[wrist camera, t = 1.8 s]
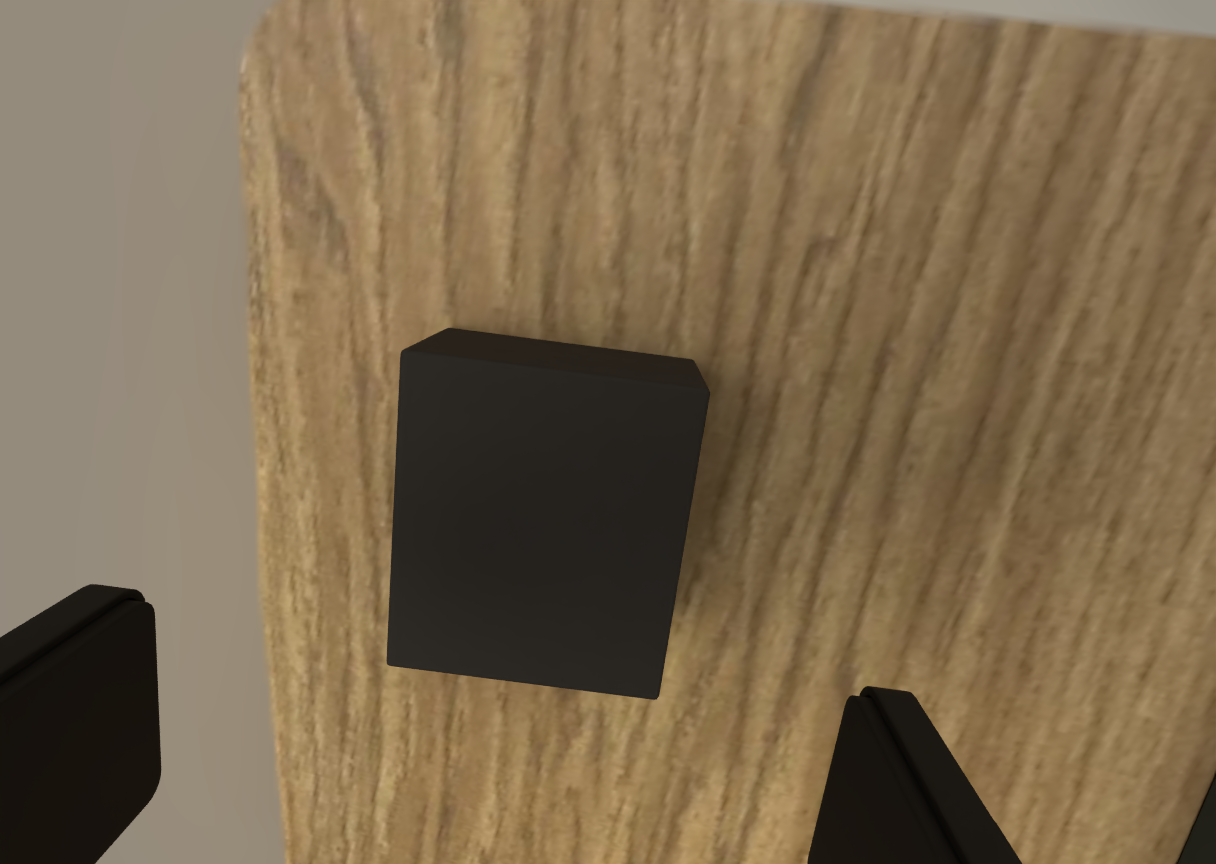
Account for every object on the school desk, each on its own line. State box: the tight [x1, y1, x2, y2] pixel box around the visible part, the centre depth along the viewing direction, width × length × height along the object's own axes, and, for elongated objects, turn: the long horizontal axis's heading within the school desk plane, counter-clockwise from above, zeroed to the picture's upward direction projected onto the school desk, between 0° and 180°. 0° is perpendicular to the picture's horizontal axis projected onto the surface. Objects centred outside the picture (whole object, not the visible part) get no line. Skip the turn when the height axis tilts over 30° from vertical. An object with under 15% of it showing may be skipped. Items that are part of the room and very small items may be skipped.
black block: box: [387, 328, 710, 700], centre depth 16 cm, size 7×6×4 cm
